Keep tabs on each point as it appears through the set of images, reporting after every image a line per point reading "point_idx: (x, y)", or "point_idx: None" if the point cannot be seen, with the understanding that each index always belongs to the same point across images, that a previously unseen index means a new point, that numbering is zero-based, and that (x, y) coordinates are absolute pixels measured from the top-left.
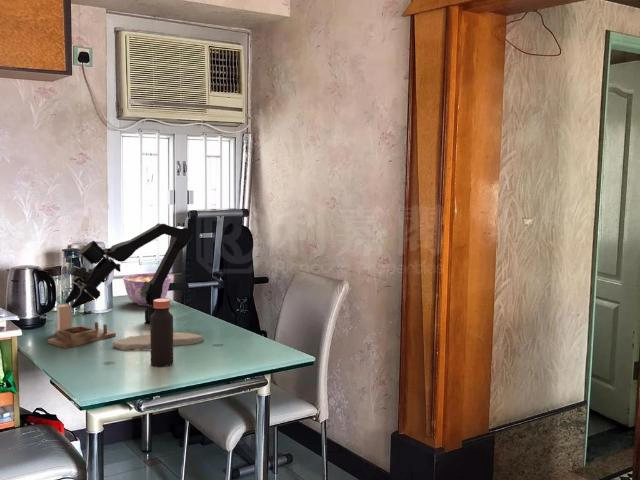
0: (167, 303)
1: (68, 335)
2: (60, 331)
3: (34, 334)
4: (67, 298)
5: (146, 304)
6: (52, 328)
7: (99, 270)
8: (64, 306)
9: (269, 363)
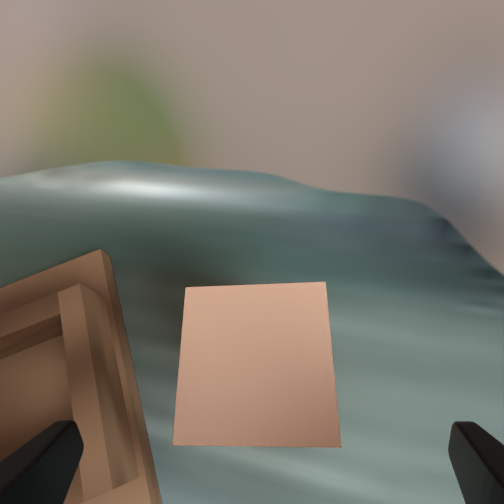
0: None
1: None
2: (40, 299)
3: (314, 220)
4: (493, 472)
5: None
6: (434, 331)
7: None
8: (192, 351)
9: None
